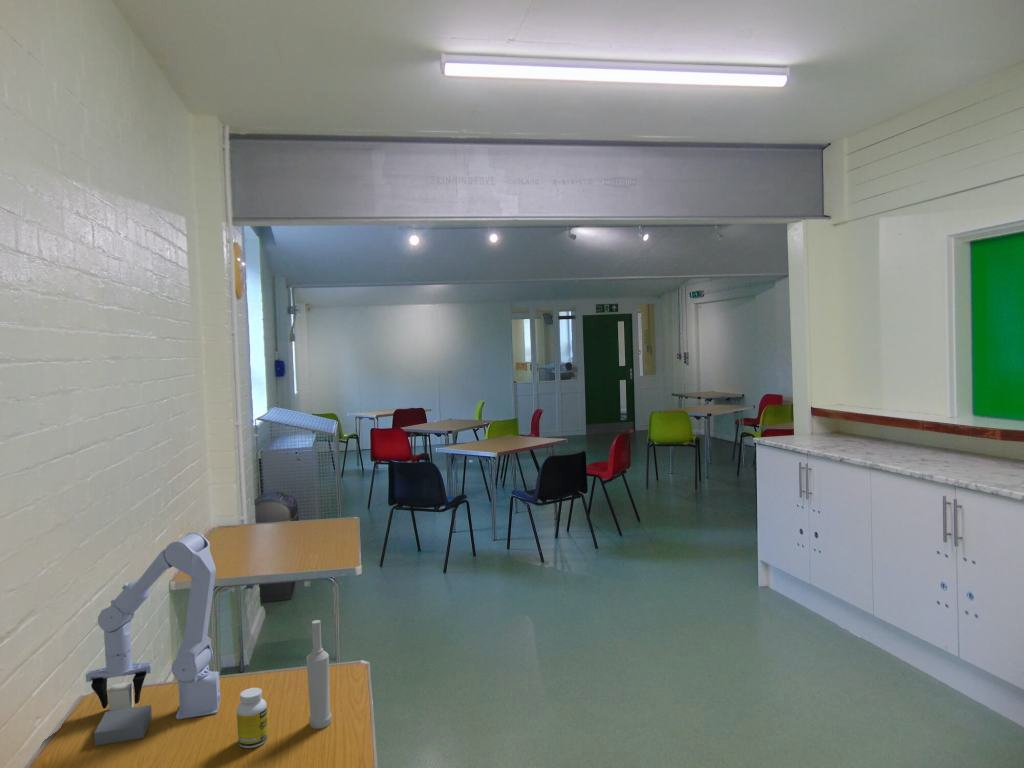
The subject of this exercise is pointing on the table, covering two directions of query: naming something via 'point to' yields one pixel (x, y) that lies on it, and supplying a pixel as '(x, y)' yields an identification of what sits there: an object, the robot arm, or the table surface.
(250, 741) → the pill bottle
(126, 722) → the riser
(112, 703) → the cream block
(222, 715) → the table surface
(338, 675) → the table surface
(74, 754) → the table surface
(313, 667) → the bottle
